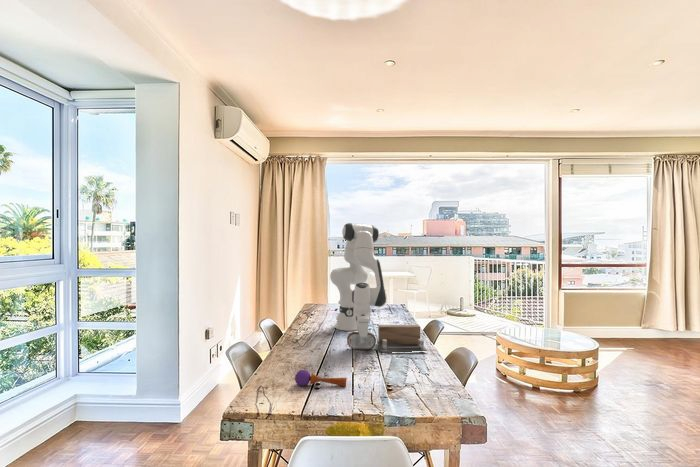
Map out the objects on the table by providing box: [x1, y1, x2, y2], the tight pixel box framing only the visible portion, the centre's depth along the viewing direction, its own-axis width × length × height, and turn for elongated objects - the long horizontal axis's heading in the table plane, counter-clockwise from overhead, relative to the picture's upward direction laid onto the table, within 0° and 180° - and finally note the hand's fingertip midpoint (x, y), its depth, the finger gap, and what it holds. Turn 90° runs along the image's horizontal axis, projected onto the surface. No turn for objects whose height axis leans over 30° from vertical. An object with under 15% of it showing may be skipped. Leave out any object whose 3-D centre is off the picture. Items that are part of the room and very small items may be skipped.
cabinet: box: [376, 324, 428, 354], centre depth 182 cm, size 16×23×10 cm
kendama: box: [294, 369, 348, 387], centre depth 135 cm, size 6×6×20 cm
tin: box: [346, 331, 377, 350], centre depth 180 cm, size 15×3×8 cm, turn 87°
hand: (361, 341), depth 180 cm, fingers closed on tin, 3 cm apart
